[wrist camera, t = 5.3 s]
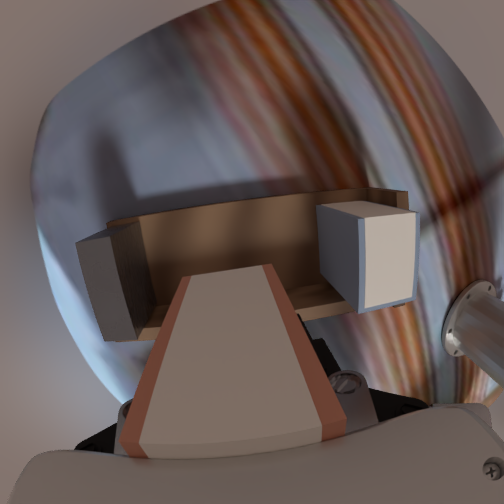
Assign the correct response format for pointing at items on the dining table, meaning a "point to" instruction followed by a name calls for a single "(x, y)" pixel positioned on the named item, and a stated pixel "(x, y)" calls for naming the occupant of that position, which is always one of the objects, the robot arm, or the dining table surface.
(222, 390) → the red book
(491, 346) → the robot arm
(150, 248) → the shelf
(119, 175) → the dining table surface
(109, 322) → the bookend
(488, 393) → the dining table surface
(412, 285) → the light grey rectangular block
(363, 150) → the dining table surface
